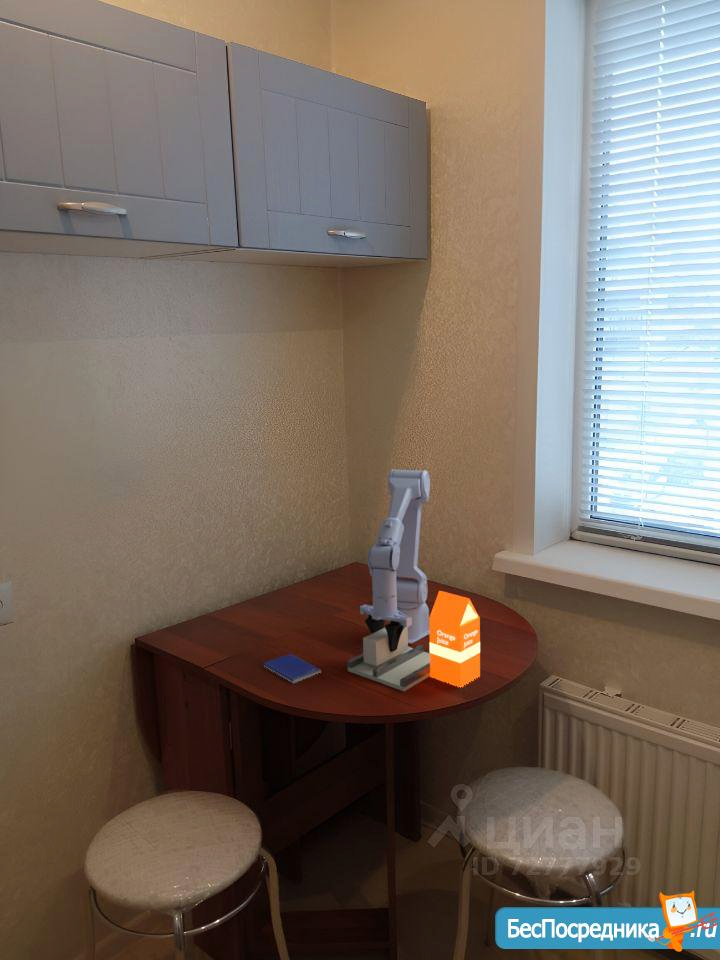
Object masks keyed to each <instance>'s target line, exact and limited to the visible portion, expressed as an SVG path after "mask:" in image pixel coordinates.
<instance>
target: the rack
mask: <svg viewBox="0 0 720 960" xmlns="http://www.w3.org/2000/svg"><path fill="white" fill-rule="evenodd" d="M346 663H347V664H346V666H347V672H350V673H353V674H355V675H357V676H358V675H359V676H361V677H363V678H366V679H369V680H372V681H374V682H377V683H380V684H382V685H384V686H388V687H391V688H393V689H396V690H399V691H402V692H405V691H407V690H409V689H411V688H412V687H414V686H415V685H417V684H419V683H421V682H422V681H425V680H426V679H428V678H429V677H430V652H425V646H424V645H422V644H419V645H417V646H416V647H410V646H408V650H406V651H404V652H403V653H401V654H399V655H397V656H395V657H393V658H391V659H389V660H388V661H386V662H384V663H382V664H380V665H378V666H374V665H371V664H368V663H366V662H364V654H363V652H362V653H361V654H359V655H357V656H354V657H352V658H350V659H348V660H347V661H346Z"/></svg>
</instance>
